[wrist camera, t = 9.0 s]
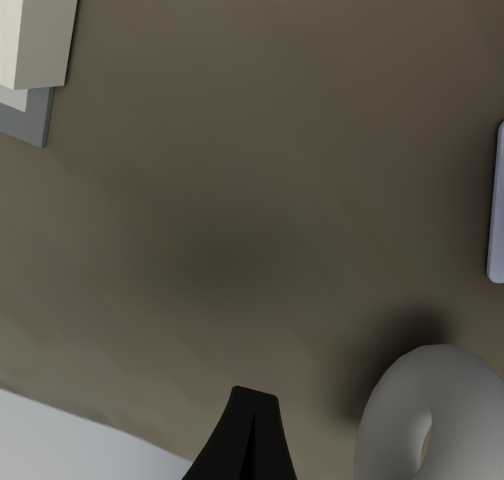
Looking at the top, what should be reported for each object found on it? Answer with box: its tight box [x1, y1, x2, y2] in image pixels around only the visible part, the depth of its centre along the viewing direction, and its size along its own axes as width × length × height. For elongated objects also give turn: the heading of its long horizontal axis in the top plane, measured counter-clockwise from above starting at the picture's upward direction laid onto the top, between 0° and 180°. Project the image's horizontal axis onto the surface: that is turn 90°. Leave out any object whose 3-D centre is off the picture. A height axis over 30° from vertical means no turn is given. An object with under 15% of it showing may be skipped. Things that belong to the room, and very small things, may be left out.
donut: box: [354, 344, 504, 480], centre depth 19 cm, size 10×4×10 cm, turn 156°
